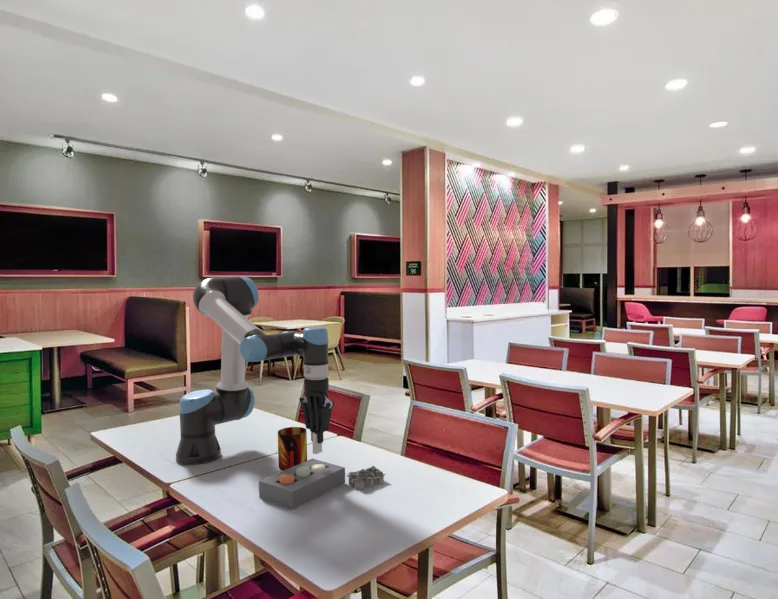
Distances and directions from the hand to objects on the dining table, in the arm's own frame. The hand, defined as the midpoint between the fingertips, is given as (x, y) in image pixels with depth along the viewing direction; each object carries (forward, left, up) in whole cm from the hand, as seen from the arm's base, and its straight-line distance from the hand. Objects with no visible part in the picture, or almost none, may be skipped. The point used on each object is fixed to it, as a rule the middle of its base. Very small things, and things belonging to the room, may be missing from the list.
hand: (317, 452), depth 163 cm
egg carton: (+12, +8, -10) cm, 18 cm away
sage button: (0, -7, -6) cm, 9 cm away
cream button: (0, 0, -8) cm, 8 cm away
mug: (-16, +5, -10) cm, 19 cm away
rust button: (0, -13, -6) cm, 14 cm away
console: (0, -7, -10) cm, 12 cm away
